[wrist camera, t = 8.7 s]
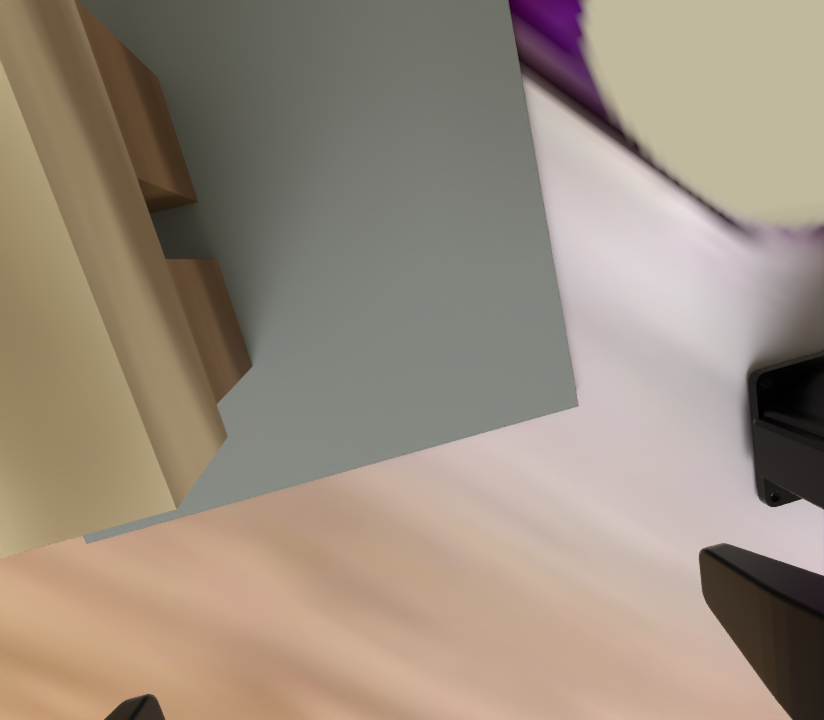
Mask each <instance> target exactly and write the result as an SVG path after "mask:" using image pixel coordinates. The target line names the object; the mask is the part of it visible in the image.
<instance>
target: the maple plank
mask: <svg viewBox="0 0 824 720" xmlns="http://www.w3.org/2000/svg"><path fill="white" fill-rule="evenodd" d="M227 437H228V436H227V433H226V430H225V427H224V424H223V421H222V419H221V416H220V413H219V410H218V407H217V404H216V402H215V399H214V396H213V393H212V390H211V387H210V384H209V382H208V379H207V376H206V373H205V370H204V367H203V365H202V362H201V359H200V356H199V353H198V350H197V348H196V345H195V342H194V339H193V336H192V333H191V330H190V328H189V325H188V322H187V319H186V316H185V313H184V311H183V308H182V305H181V302H180V299H179V296H178V294H177V291H176V288H175V285H174V282H173V279H172V277H171V274H170V271H169V268H168V265H167V262H166V259H165V257H164V254H163V251H162V248H161V245H160V242H159V240H158V237H157V234H156V231H155V228H154V225H153V223H152V220H151V217H150V214H149V211H148V208H147V205H146V203H145V200H144V197H143V194H142V191H141V188H140V186H139V183H138V180H137V177H136V174H135V171H134V169H133V166H132V163H131V160H130V157H129V154H128V151H127V149H126V146H125V143H124V140H123V137H122V134H121V132H120V129H119V126H118V123H117V120H116V117H115V115H114V112H113V109H112V106H111V103H110V100H109V98H108V95H107V92H106V89H105V86H104V83H103V80H102V78H101V75H100V72H99V69H98V66H97V63H96V61H95V58H94V55H93V52H92V49H91V46H90V44H89V41H88V38H87V35H86V32H85V29H84V26H83V24H82V21H81V18H80V15H79V12H78V9H77V7H76V4H75V1H74V0H0V558H3V557H7V556H10V555H14V554H17V553H21V552H25V551H28V550H32V549H35V548H39V547H43V546H46V545H50V544H53V543H57V542H61V541H64V540H68V539H71V538H75V537H79V536H82V535H86V534H89V533H93V532H97V531H100V530H104V529H107V528H111V527H114V526H118V525H122V524H125V523H129V522H132V521H136V520H140V519H143V518H147V517H150V516H154V515H158V514H161V513H165V512H168V511H172V510H176V509H177V508H178V507H179V505H180V504H181V502H182V501H183V499H184V498H185V497H186V495H187V494H188V492H189V491H190V490H191V488H192V487H193V485H194V484H195V483H196V481H197V480H198V478H199V477H200V475H201V474H202V473H203V471H204V470H205V468H206V467H207V466H208V464H209V463H210V461H211V460H212V458H213V457H214V456H215V454H216V453H217V451H218V450H219V449H220V447H221V446H222V444H223V443H224V442H225V440H226V439H227Z"/></svg>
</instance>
